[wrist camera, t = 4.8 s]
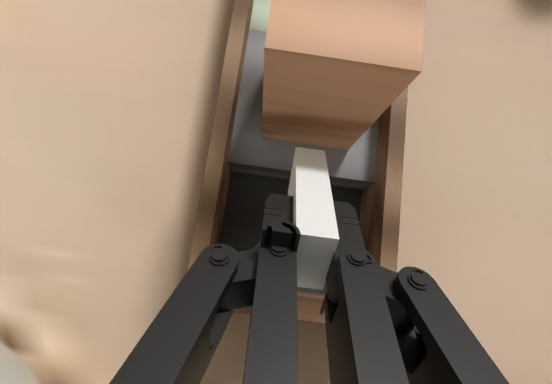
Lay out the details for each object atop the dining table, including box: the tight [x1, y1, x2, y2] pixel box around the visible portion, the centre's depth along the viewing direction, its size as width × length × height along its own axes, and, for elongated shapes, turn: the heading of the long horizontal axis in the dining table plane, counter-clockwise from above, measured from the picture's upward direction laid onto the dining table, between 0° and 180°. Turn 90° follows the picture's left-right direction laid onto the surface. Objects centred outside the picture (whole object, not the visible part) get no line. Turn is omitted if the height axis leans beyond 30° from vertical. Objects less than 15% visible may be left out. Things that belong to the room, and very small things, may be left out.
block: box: [262, 0, 425, 150], centre depth 17 cm, size 6×6×10 cm
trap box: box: [187, 0, 408, 323], centre depth 24 cm, size 38×12×5 cm, turn 173°
